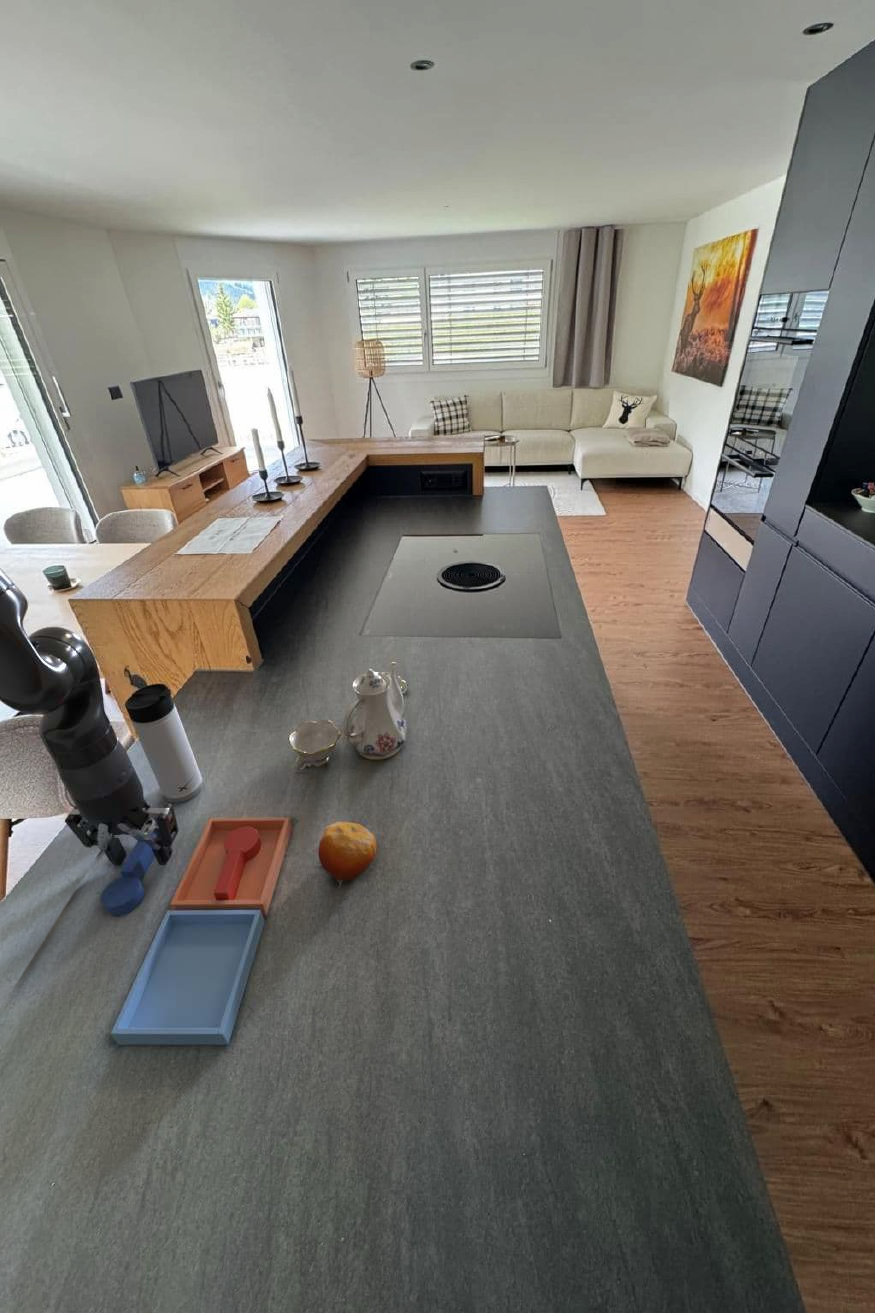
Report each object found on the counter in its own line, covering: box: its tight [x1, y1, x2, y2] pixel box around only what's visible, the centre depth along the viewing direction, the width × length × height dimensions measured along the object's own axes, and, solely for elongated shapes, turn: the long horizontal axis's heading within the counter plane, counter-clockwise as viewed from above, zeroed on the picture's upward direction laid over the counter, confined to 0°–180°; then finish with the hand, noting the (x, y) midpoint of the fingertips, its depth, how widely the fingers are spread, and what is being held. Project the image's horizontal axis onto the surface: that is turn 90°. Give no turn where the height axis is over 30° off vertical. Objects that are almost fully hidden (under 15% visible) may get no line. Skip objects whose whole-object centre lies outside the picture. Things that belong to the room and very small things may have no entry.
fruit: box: [318, 821, 377, 890], centre depth 77 cm, size 8×8×8 cm
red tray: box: [169, 816, 293, 916], centre depth 78 cm, size 12×14×2 cm
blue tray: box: [110, 910, 266, 1046], centre depth 65 cm, size 12×14×2 cm
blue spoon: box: [100, 833, 157, 917], centre depth 77 cm, size 12×5×3 cm, turn 179°
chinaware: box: [287, 662, 409, 772], centre depth 97 cm, size 28×17×17 cm, turn 150°
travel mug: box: [124, 683, 204, 804], centre depth 87 cm, size 6×7×20 cm
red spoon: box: [213, 827, 261, 900], centre depth 77 cm, size 12×5×3 cm, turn 1°
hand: (143, 860), depth 80 cm, fingers open, 6 cm apart
